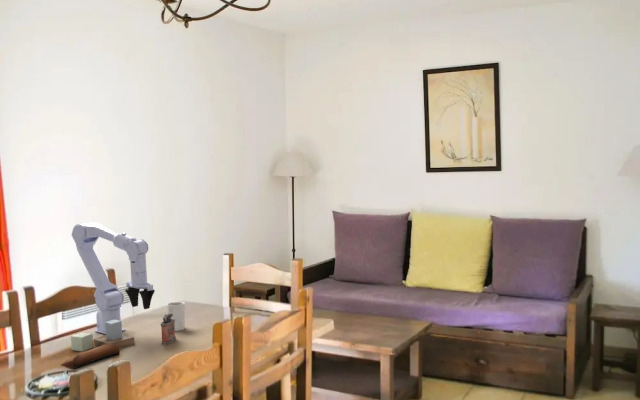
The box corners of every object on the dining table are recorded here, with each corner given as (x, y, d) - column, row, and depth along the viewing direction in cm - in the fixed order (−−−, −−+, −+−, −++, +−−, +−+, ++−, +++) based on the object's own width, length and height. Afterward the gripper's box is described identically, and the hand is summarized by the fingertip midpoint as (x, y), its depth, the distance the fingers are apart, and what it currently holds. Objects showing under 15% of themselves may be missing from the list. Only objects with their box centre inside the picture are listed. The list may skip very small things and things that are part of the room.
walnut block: (94, 347, 222) (93, 339, 222) (119, 341, 230) (118, 333, 230) (109, 352, 216) (109, 343, 215) (134, 345, 223) (134, 337, 223)
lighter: (168, 344, 221) (166, 317, 220) (159, 344, 222) (158, 317, 221) (177, 338, 229) (176, 311, 228) (169, 338, 229) (168, 311, 229)
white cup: (183, 330, 239) (182, 305, 239) (166, 331, 240) (165, 305, 239) (187, 326, 246) (186, 301, 245) (170, 326, 246) (169, 301, 246)
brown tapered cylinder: (103, 350, 216) (109, 335, 214) (116, 363, 213) (122, 348, 211) (58, 365, 201) (63, 349, 199) (70, 379, 198) (76, 363, 196)
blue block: (106, 338, 222) (105, 322, 222) (116, 335, 225) (114, 319, 225) (112, 340, 220) (111, 323, 219) (122, 337, 223) (121, 320, 222)
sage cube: (71, 350, 218) (71, 336, 218) (82, 346, 223) (81, 332, 223) (82, 351, 216) (81, 337, 216) (93, 347, 221) (92, 333, 220)
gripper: (118, 272, 236) (120, 307, 237) (140, 275, 227) (143, 311, 228) (134, 269, 242) (136, 303, 242) (156, 272, 232) (159, 308, 233)
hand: (140, 307), depth 235 cm, fingers open, 7 cm apart
